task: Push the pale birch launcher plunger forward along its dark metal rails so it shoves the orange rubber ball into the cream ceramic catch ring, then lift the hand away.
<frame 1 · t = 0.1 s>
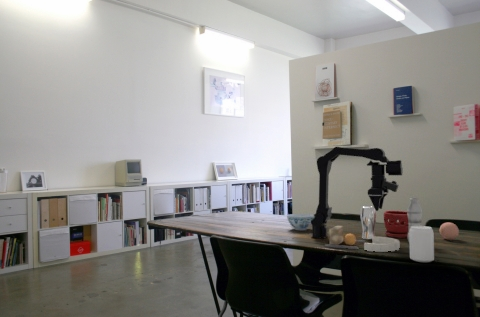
hand: (378, 209, 181), 15 cm above the table, fingers open, 9 cm apart
launcher plunger: (336, 235, 177), point 4 cm above the table, slide at 0.0 cm
plastic bottle: (415, 244, 175), on the table
chinaware: (300, 229, 220), on the table
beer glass: (368, 238, 190), on the table
launcher rails: (345, 244, 175), on the table
beverage can: (421, 260, 145), on the table
plant pot: (398, 237, 194), on the table
catch ring: (376, 247, 169), on the table
rubber ball: (350, 239, 174), point 2 cm above the table
toy ball: (449, 240, 184), on the table
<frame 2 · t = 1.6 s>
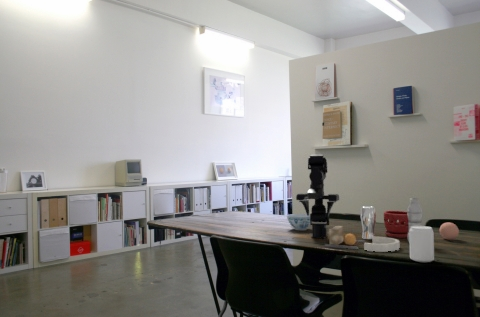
hand: (317, 216, 182), 12 cm above the table, fingers open, 9 cm apart
nothing on the table moved.
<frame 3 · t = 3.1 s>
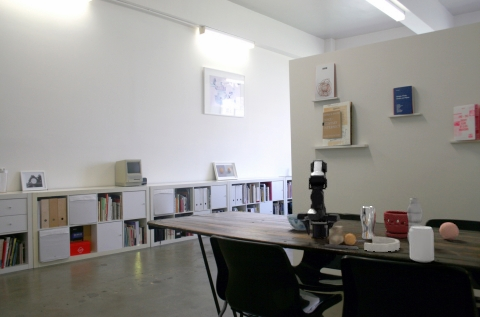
hand: (318, 235, 181), 3 cm above the table, fingers open, 9 cm apart
launcher plunger: (336, 235, 177), point 4 cm above the table, slide at 0.0 cm, touching gripper
everything else where it was.
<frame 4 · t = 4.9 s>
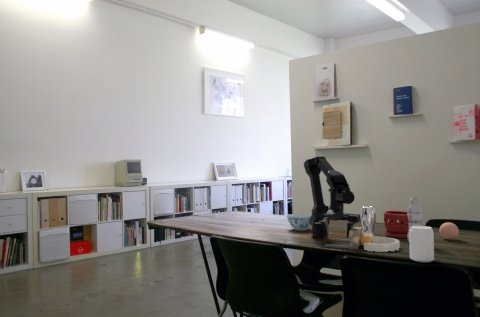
hand: (337, 237, 177), 3 cm above the table, fingers open, 9 cm apart
launcher plunger: (356, 236, 173), point 4 cm above the table, slide at 8.8 cm, touching gripper
rubber ball: (366, 240, 171), point 2 cm above the table, tilted 156°
everything else where it was.
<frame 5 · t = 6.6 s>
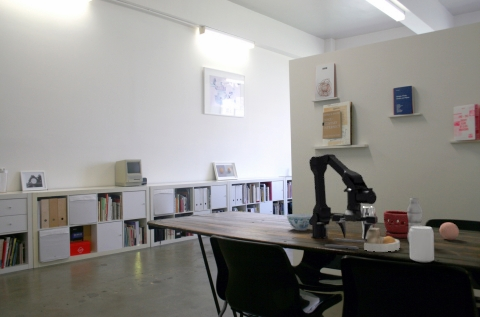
hand: (354, 238, 173), 3 cm above the table, fingers open, 8 cm apart
launcher plunger: (373, 238, 169), point 4 cm above the table, slide at 16.0 cm, touching gripper
rubber ball: (388, 242, 166), point 2 cm above the table, tilted 11°
everything else where it was.
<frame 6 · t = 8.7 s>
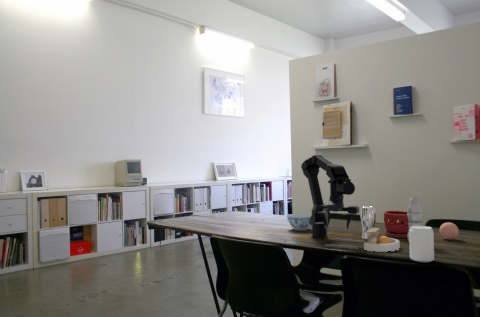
hand: (337, 228, 178), 7 cm above the table, fingers open, 9 cm apart
launcher plunger: (373, 238, 169), point 4 cm above the table, slide at 16.0 cm
rubber ball: (384, 241, 167), point 2 cm above the table, tilted 33°
everything else where it was.
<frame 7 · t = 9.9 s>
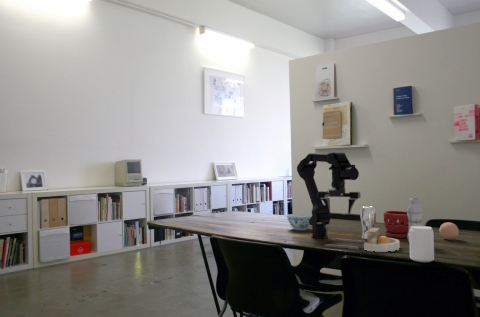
hand: (339, 213, 182), 13 cm above the table, fingers open, 9 cm apart
rubber ball: (383, 241, 167), point 2 cm above the table, tilted 39°
everything else where it was.
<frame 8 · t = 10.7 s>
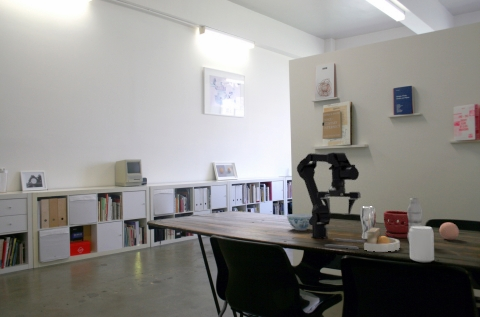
hand: (339, 213, 182), 13 cm above the table, fingers open, 9 cm apart
nothing on the table moved.
at the end: rubber ball 3.0 cm from the catch ring (horizontally); launcher plunger slide at 16.0 cm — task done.
